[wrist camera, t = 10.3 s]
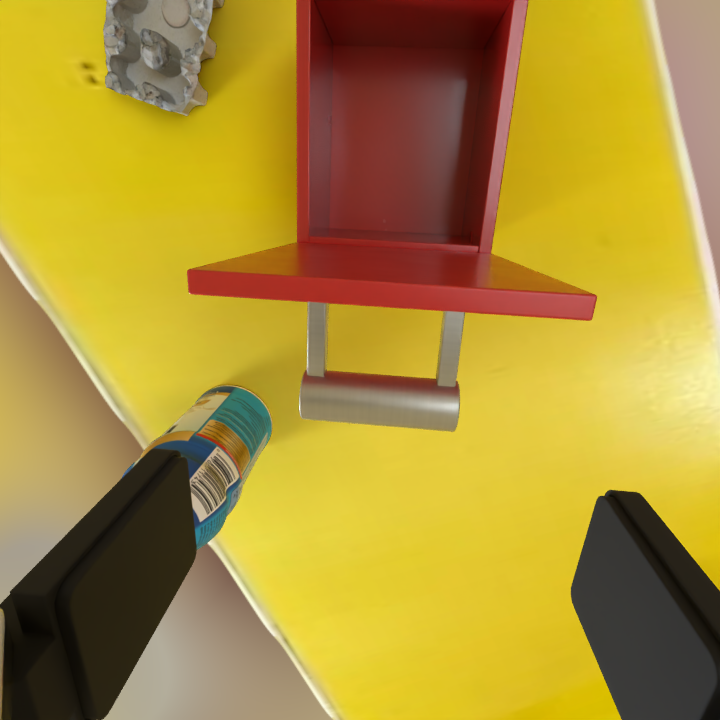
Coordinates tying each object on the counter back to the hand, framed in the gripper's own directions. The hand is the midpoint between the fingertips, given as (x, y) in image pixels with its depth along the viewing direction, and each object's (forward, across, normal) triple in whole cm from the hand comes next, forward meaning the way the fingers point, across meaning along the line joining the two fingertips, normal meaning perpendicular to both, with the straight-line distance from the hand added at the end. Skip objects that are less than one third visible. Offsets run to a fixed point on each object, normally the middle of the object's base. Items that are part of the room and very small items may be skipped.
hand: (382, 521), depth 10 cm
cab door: (+13, 0, -4) cm, 14 cm away
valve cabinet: (+31, 0, -11) cm, 33 cm away
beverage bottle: (+31, +15, +15) cm, 38 cm away
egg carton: (+31, +18, -18) cm, 40 cm away
